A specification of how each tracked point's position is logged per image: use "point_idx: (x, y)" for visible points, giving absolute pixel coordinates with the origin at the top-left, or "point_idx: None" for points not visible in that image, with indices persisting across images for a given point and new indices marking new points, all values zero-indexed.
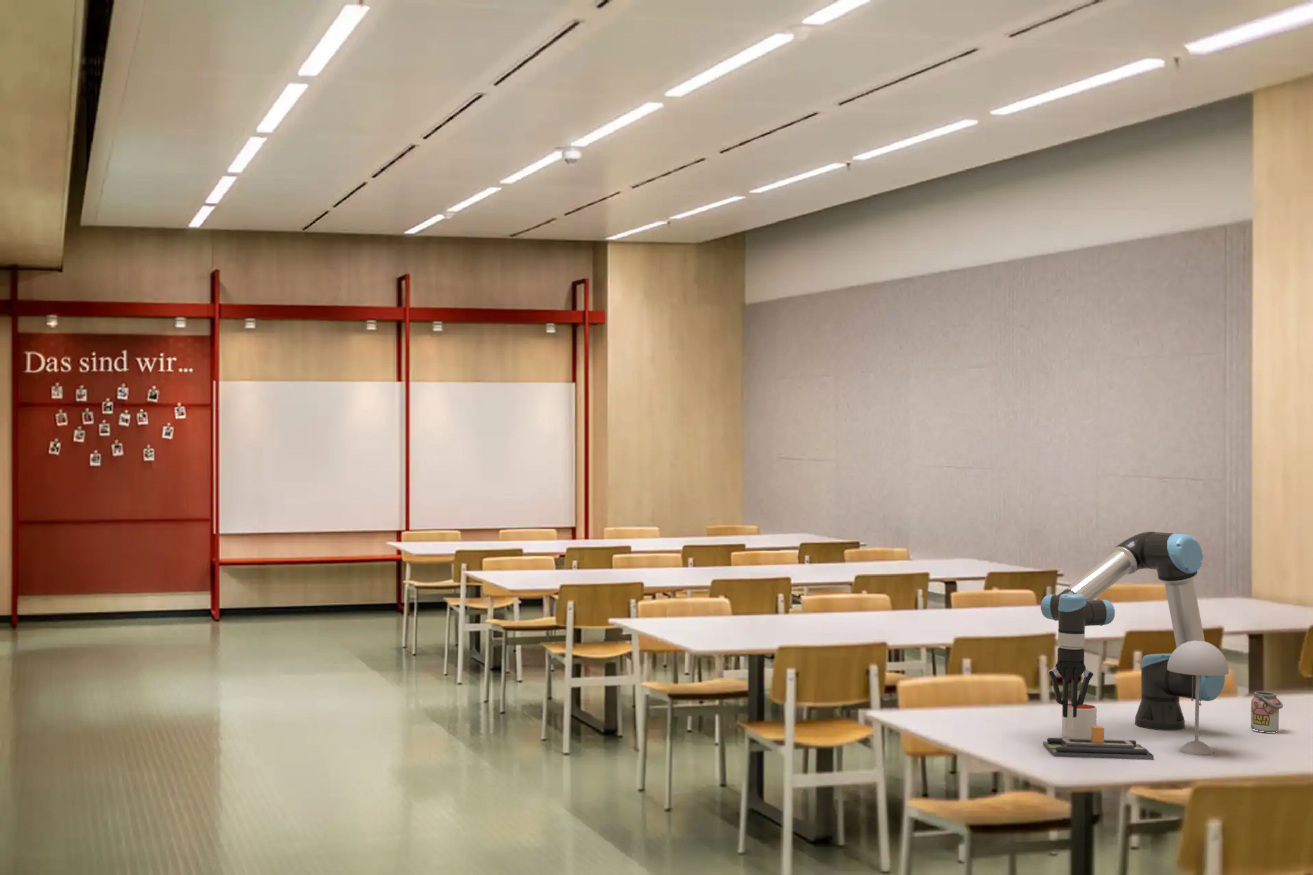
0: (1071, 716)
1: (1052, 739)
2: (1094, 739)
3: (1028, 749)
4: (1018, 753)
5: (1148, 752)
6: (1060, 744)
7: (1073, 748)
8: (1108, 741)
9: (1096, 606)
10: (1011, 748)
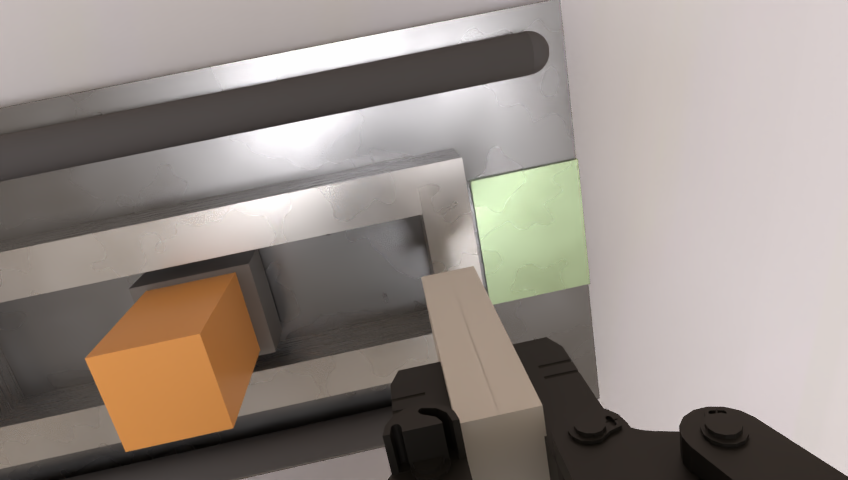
0: (456, 337)
1: None
2: (218, 285)
3: (701, 222)
4: (797, 46)
5: None
6: None
7: (401, 61)
8: None
9: None
10: (811, 215)
